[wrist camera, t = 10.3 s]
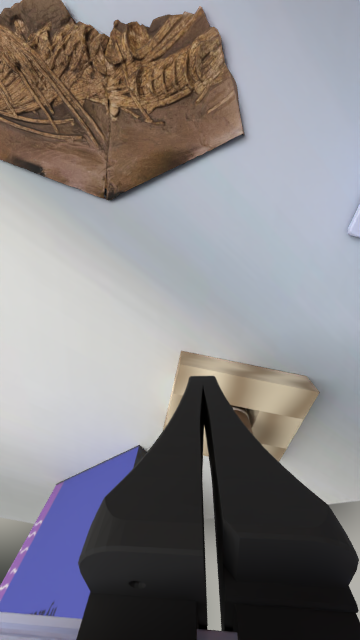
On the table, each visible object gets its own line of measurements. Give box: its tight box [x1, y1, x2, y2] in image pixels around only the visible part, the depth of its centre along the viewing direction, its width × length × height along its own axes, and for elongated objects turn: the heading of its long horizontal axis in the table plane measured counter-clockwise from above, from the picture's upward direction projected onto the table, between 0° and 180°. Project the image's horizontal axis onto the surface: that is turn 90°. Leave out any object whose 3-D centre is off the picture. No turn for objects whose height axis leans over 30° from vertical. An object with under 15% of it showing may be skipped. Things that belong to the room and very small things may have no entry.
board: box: [163, 351, 319, 462], centre depth 23 cm, size 14×12×2 cm
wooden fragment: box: [0, 0, 245, 200], centre depth 15 cm, size 26×11×1 cm, turn 85°
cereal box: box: [0, 445, 147, 619], centre depth 20 cm, size 17×5×24 cm, turn 126°
